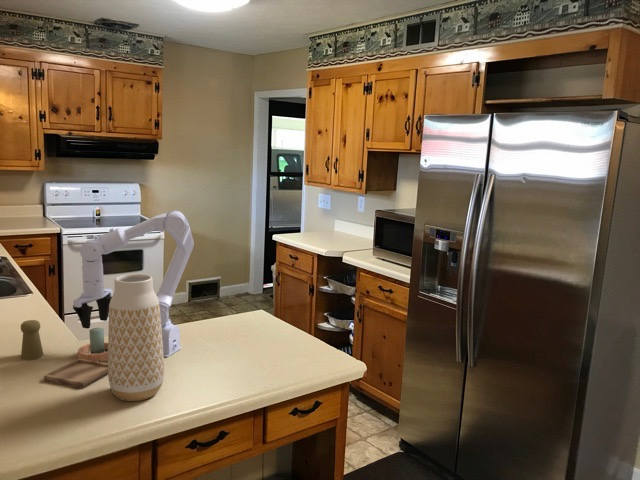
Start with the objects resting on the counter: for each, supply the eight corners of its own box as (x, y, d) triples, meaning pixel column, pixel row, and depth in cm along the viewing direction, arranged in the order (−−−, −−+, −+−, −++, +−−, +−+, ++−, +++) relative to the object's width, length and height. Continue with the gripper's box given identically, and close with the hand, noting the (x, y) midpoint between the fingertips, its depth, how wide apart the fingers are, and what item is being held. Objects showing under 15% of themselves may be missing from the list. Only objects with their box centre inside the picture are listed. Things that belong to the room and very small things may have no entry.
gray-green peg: (107, 353, 166) (106, 328, 165) (98, 358, 162) (97, 332, 161) (96, 351, 167) (95, 327, 166) (87, 356, 163) (86, 331, 162)
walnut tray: (116, 369, 154) (116, 364, 154) (83, 388, 142) (83, 383, 142) (79, 363, 158) (79, 358, 158) (44, 380, 146) (43, 375, 146)
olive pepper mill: (34, 361, 159) (31, 325, 157) (16, 359, 160) (13, 323, 158) (48, 353, 165) (46, 318, 163) (30, 351, 166) (28, 317, 164)
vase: (110, 409, 131) (105, 286, 126) (107, 386, 144) (103, 273, 139) (168, 400, 137) (165, 282, 132) (161, 378, 149) (158, 270, 144)
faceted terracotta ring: (123, 351, 168) (123, 344, 168) (99, 364, 158) (99, 356, 158) (95, 346, 171) (95, 340, 171) (70, 358, 161) (70, 351, 161)
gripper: (98, 273, 168) (100, 315, 171) (63, 284, 155) (66, 329, 157) (117, 275, 166) (119, 318, 169) (84, 286, 153) (86, 332, 155)
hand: (95, 323), depth 163 cm, fingers open, 7 cm apart
